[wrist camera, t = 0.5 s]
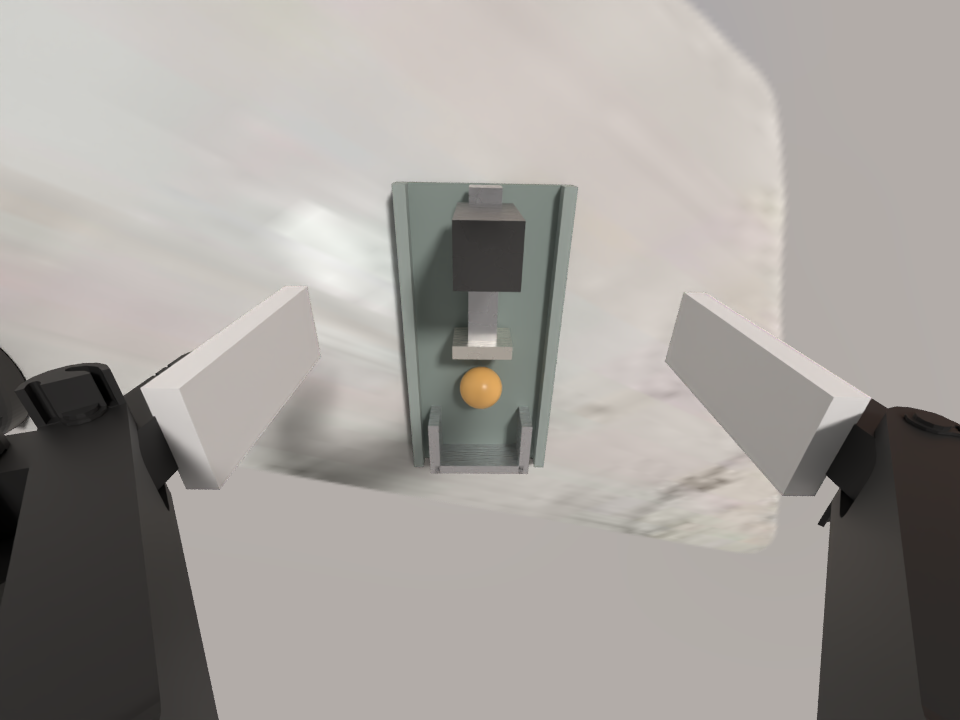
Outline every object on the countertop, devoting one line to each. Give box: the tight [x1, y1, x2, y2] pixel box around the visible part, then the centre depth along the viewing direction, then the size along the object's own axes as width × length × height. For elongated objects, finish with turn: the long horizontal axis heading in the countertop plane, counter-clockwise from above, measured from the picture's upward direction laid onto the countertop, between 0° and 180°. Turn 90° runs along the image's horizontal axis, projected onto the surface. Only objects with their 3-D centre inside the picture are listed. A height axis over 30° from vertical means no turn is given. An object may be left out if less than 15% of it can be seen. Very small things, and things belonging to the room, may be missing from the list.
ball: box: [460, 367, 502, 409], centre depth 37 cm, size 4×4×4 cm
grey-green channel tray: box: [392, 182, 578, 467], centre depth 37 cm, size 14×28×2 cm, turn 179°
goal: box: [428, 406, 532, 474], centre depth 41 cm, size 10×6×4 cm, turn 89°
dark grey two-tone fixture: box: [452, 185, 526, 360], centre depth 29 cm, size 5×13×11 cm, turn 179°
